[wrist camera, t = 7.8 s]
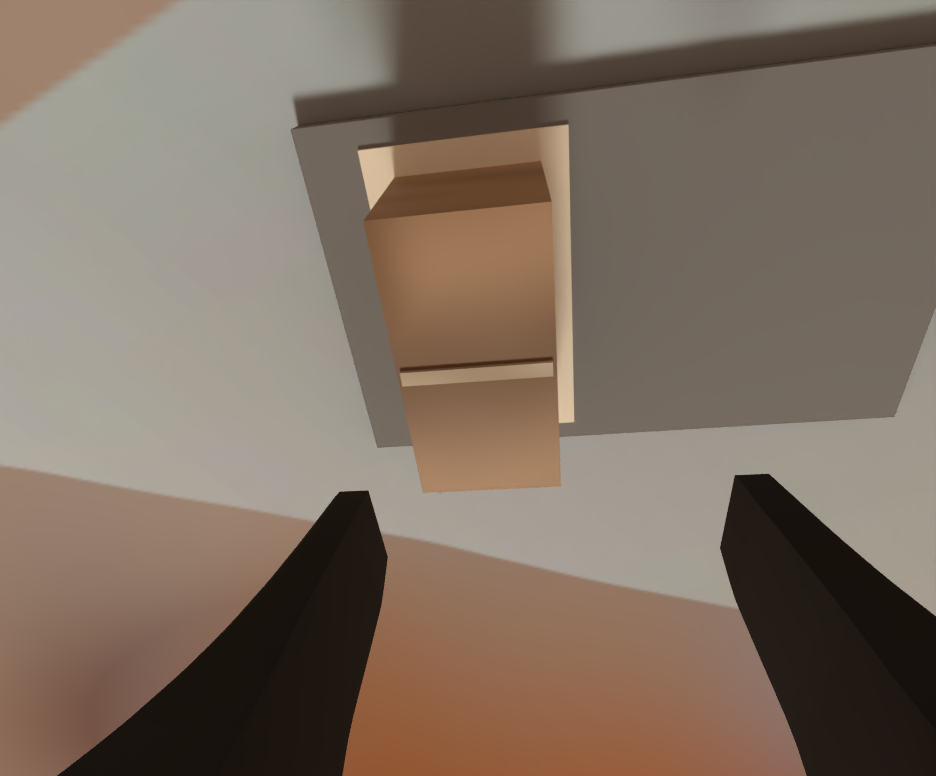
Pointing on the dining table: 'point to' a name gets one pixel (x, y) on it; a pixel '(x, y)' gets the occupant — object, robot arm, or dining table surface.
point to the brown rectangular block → (472, 323)
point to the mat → (684, 237)
